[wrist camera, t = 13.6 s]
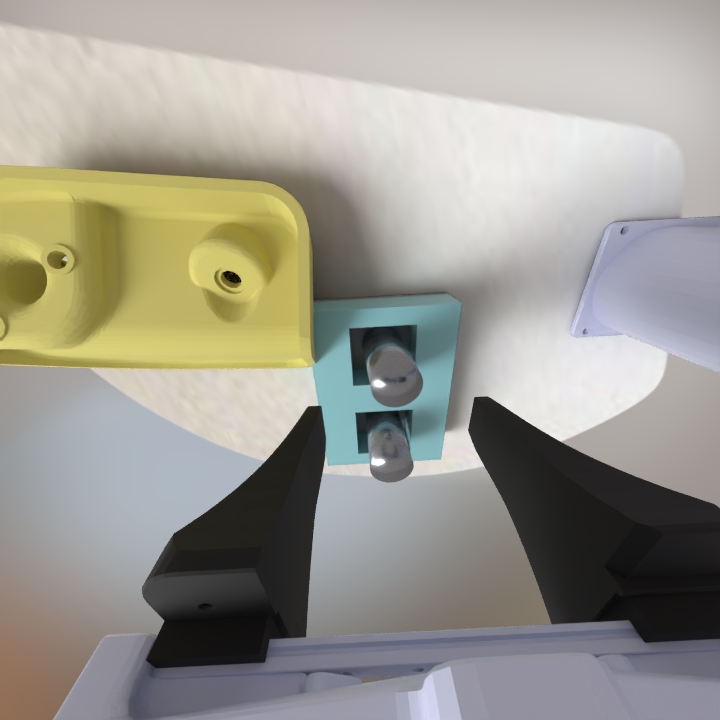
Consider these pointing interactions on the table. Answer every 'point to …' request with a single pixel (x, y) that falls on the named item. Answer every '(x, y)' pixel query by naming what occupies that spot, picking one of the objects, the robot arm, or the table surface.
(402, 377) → the peg
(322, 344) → the housing
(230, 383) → the table surface
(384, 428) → the peg
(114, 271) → the plastic component
